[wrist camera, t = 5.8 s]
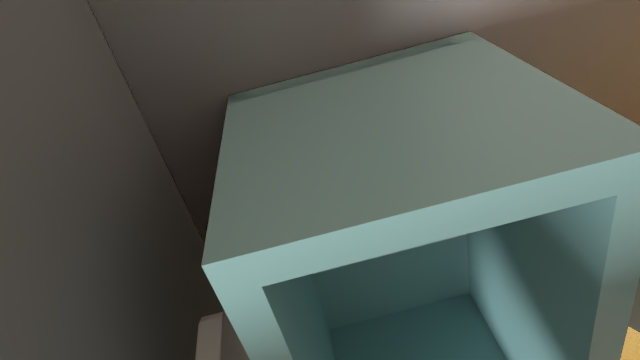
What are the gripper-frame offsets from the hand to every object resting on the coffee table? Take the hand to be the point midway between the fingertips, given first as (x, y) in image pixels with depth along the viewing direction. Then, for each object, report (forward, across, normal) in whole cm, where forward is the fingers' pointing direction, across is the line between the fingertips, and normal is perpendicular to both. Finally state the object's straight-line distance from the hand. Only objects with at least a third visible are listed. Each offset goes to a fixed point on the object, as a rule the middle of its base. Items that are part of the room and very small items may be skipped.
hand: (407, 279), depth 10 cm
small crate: (+4, 0, -1) cm, 4 cm away
